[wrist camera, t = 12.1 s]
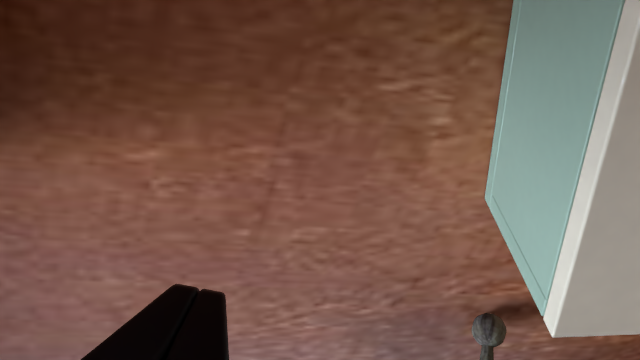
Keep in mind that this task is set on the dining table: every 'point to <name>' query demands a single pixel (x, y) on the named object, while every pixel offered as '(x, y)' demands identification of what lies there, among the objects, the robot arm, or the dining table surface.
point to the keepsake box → (546, 126)
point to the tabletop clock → (488, 333)
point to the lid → (605, 208)
